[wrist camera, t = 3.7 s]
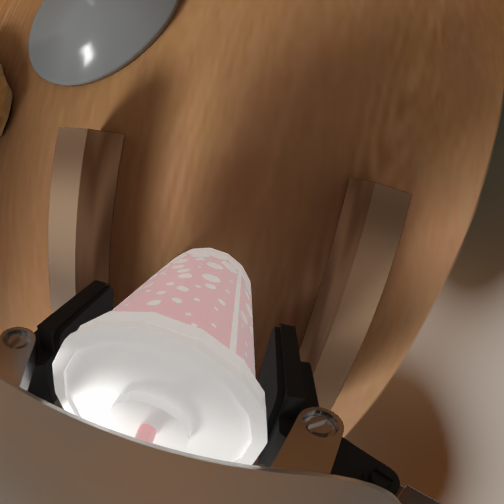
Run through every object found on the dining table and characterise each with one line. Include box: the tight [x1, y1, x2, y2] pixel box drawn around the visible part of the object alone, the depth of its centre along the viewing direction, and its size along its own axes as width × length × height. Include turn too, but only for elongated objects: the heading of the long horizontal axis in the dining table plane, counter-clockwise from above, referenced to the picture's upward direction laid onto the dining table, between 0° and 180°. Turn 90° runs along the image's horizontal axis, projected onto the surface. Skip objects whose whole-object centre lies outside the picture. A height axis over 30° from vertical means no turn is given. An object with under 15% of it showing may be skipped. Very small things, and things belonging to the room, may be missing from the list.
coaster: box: [28, 0, 180, 86], centre depth 11 cm, size 10×10×1 cm
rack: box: [48, 127, 412, 467], centre depth 11 cm, size 15×14×9 cm
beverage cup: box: [52, 248, 267, 465], centre depth 9 cm, size 6×6×14 cm
